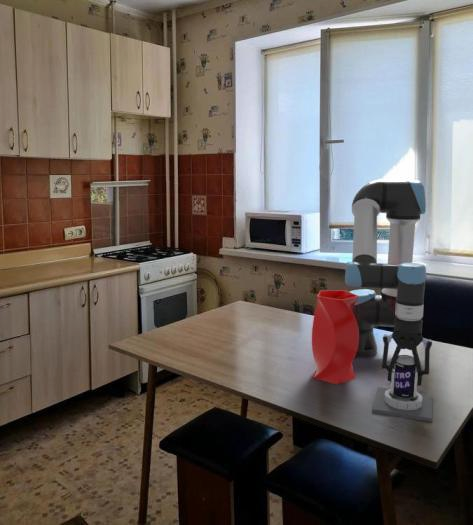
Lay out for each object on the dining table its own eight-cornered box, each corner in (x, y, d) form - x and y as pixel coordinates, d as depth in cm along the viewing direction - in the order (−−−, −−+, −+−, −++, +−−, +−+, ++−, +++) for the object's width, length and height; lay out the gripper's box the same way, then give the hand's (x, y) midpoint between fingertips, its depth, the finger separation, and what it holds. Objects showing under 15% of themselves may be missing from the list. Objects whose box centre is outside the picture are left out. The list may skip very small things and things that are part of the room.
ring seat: (371, 412, 144) (372, 402, 144) (377, 389, 159) (377, 380, 159) (431, 422, 139) (432, 411, 138) (431, 398, 154) (432, 388, 153)
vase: (321, 364, 180) (324, 287, 175) (362, 371, 173) (366, 292, 168) (307, 379, 167) (310, 297, 162) (350, 388, 160) (354, 302, 155)
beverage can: (390, 392, 151) (392, 354, 149) (408, 392, 152) (411, 353, 149) (397, 401, 146) (400, 361, 143) (416, 400, 146) (419, 361, 144)
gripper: (373, 317, 144) (369, 393, 148) (444, 324, 138) (437, 404, 142) (376, 310, 151) (372, 383, 155) (443, 317, 144) (437, 393, 149)
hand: (403, 393), depth 148 cm, fingers closed on beverage can, 6 cm apart
